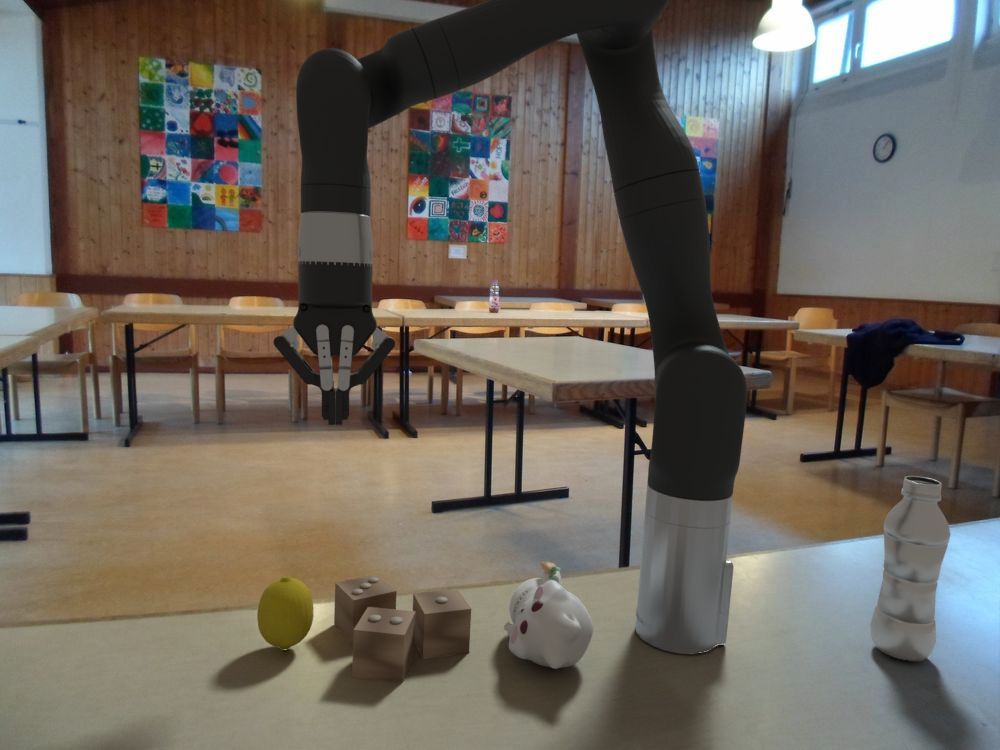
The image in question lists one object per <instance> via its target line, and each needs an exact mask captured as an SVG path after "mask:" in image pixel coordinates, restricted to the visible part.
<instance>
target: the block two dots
mask: <svg viewBox="0 0 1000 750" xmlns="http://www.w3.org/2000/svg"><path fill="white" fill-rule="evenodd" d="M415 613H416V611H413V610H407V609H405V610H404V609H397V608H396V609H386V608H375V607H367V609H366V611H365V612H364V614H363V616H362V617H361V619H360V620H359V622H358V624H357V625H356V627H355V628H354V634H353V644H352V668H351V669H352V671H351V672H352V675H351V676H352V677H351V678H352V679H353V678H356V679H362V680H363V679H364V680H374V681H384V682H393V683H401V684H402V683H404V681H405V678H406V676H407V673H408V672H409V670H410V669H409V668H410V667H411V664H412V661H413V659H414V657H415V656H414V655H415V642H414V637H415Z"/></svg>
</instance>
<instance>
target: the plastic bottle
mask: <svg viewBox="0 0 1000 750" xmlns="http://www.w3.org/2000/svg"><path fill="white" fill-rule="evenodd" d="M942 484H943V483H942V482H941V481H939V480H937V479H934V478H930V477H925V476H918V475H908V476H904V479H903V484H902V488H901V493H900V494H901V495H902V496H903V498H902V499H901V500H900V501H899V502H898V503H897V504H895V506H893V508H891V510H890V511H888V513H887V514H886V516H885V519H884V521H883V543H884V545H883V548H884V549H883V550H884V553H883V554H884V557H883V572H882V581H881V585H880V590H879V595H878V598H877V603H876V606H875V608H874V609H873V612H872V613H873V614H872V617H871V620H870V625H869V626H870V627H869V628H870V637H871V638H870V639H871V640H872V642H873V643H874V646H875V645H876V646H875V647H876V648H877V649H878V650H879V651H881V652H882V653H883V654H886V655H888V656H890V657H893V658H894V659H898V660H901V659H902V660H903V661H906V660H908V661H907V662H922V661H924V659H925V660H926V659H927V658H928V657H930V656H931V654H933V652H934V648H935V646H936V642H937V625H936V620H935V619H936V617H935V615H936V596H937V588H938V581H939V580H940V579H939V577H940V573H941V568H942V565H943V562H944V558H945V555H946V553H947V549H948V547H949V545H948V544H949V543H950V537H951V529H950V525H949V523H948V521H947V519H946V517H945V515H944V513H943V511H942V510H941V508H940V506H939V505H938V503H939V502H941V501H942V495H941V493H942V487H943V486H942ZM921 660H922V661H921Z"/></svg>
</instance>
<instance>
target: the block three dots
mask: <svg viewBox="0 0 1000 750" xmlns="http://www.w3.org/2000/svg"><path fill="white" fill-rule="evenodd" d="M334 583H335V585H334V614H333V615H334V617H333V619H334V621H333V625H334V627H336V628H337V630H339V631H340V633H341V634H342V635H343V636H344V637H345V638H346V640H348V641H349V643H350V644H351V645H353V634H354V628H355V627H356V625H357V624H358V622H359V620H360V619H361V617H362V616H363V614H364V612H365V611H366V609H367V607H375V608H386V609H396V610H397V593H398V592H397V591H398V590H396V589H395V588H394V587H393V586H391V584H389V583H388V582H387V581H385V579H383V578H382V577H381V576H380V575H378V574H377V573H376V574H373V575H372V574H370V575H367V576H362V577H361V576H360V577H356V578H352V579H346V580H342V581H338V582H337V581H336V582H334Z"/></svg>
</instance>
